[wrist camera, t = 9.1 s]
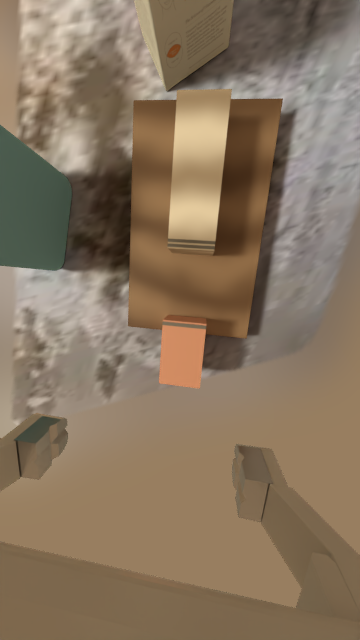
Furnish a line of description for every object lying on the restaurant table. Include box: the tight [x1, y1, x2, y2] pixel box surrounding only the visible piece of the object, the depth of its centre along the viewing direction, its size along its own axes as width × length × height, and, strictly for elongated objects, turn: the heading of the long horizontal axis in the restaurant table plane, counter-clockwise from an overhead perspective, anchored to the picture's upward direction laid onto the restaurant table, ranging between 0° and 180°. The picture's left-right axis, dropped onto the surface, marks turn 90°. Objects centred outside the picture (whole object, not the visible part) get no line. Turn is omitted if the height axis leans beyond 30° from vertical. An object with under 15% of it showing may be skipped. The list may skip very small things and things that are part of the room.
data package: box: [0, 125, 72, 271], centre depth 21 cm, size 12×4×12 cm, turn 166°
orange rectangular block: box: [159, 315, 207, 388], centre depth 24 cm, size 8×5×4 cm, turn 175°
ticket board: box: [128, 89, 283, 338], centre depth 22 cm, size 26×16×6 cm, turn 175°
